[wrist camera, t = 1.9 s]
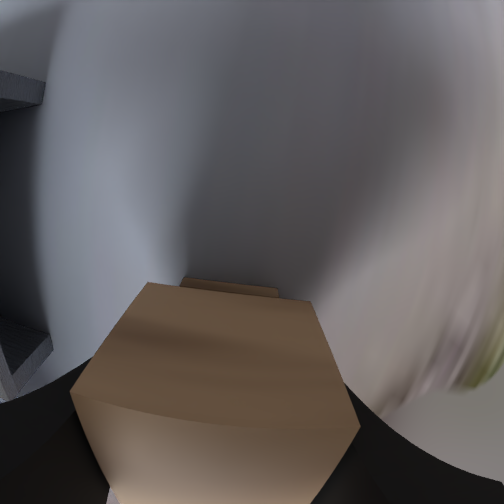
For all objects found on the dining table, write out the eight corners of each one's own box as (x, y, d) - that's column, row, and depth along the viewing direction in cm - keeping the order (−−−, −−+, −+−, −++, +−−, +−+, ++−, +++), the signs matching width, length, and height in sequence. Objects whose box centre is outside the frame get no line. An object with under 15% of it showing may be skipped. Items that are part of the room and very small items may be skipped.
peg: (276, 374, 13) (294, 523, 6) (166, 362, 12) (119, 503, 5) (298, 273, 11) (360, 426, 4) (167, 257, 11) (69, 391, 4)
